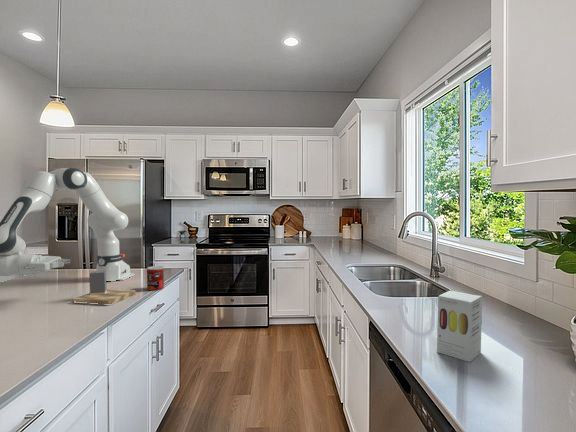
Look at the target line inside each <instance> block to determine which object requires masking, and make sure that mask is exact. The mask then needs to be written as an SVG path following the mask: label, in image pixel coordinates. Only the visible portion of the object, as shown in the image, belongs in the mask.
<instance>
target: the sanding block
mask: <svg viewBox="0 0 576 432" xmlns="http://www.w3.org/2000/svg"><path fill="white" fill-rule="evenodd" d="M107 289H108V287H107V282H106V271H96V270H94V271H90V272H89V293H90V295H99V294H105V293H106V292H107Z"/></svg>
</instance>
